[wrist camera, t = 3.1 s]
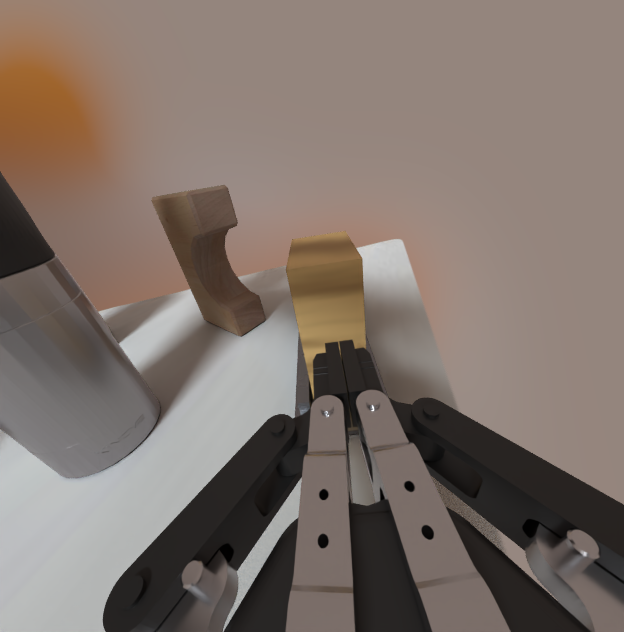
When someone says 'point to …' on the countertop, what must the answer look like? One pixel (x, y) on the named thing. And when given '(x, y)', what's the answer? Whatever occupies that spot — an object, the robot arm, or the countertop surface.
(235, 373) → the countertop surface
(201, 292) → the decorative block
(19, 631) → the countertop surface
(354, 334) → the slider block
